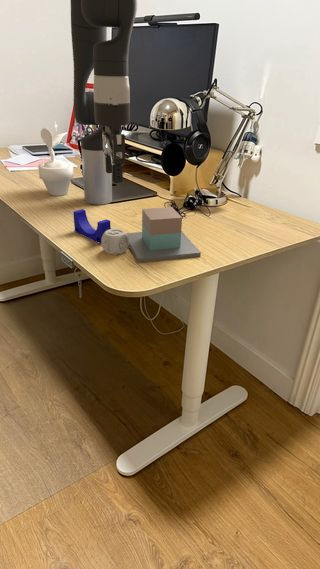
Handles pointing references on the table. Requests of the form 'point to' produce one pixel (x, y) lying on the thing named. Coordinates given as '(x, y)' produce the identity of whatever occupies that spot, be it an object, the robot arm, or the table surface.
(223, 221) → the table surface
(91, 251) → the table surface
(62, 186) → the potted plant
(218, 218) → the table surface
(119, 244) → the die
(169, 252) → the brick tower
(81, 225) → the blue saddle bracket
